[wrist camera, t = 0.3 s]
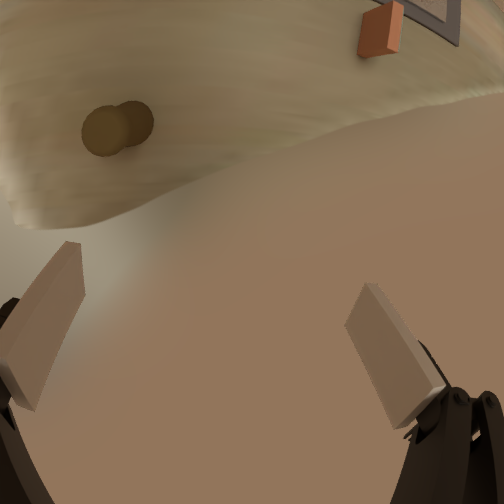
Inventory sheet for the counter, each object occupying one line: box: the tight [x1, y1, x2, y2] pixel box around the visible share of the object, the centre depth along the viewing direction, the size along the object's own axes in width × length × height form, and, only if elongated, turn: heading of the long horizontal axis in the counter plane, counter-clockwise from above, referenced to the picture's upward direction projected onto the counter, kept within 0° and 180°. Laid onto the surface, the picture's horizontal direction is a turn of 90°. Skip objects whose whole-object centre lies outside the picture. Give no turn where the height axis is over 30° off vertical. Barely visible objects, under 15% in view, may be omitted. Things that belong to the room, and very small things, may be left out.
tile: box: [357, 0, 404, 58], centre depth 26 cm, size 7×2×8 cm, turn 170°
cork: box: [82, 101, 154, 157], centre depth 28 cm, size 6×6×11 cm
